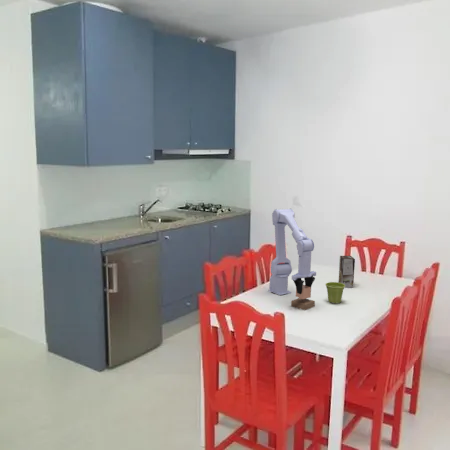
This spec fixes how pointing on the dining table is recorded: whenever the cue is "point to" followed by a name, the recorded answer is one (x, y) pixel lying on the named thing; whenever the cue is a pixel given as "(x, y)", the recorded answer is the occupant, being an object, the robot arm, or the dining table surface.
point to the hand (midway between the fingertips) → (303, 292)
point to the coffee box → (346, 271)
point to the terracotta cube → (304, 292)
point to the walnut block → (302, 303)
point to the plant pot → (335, 291)
